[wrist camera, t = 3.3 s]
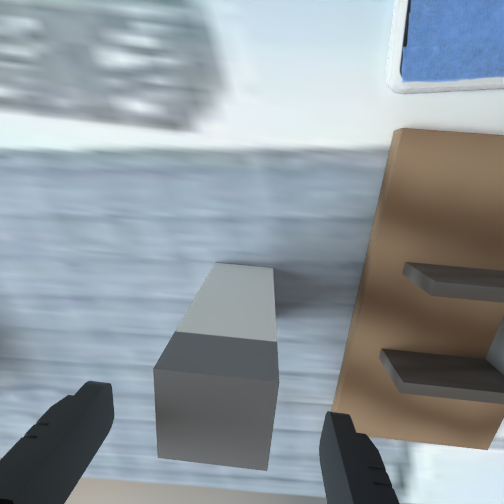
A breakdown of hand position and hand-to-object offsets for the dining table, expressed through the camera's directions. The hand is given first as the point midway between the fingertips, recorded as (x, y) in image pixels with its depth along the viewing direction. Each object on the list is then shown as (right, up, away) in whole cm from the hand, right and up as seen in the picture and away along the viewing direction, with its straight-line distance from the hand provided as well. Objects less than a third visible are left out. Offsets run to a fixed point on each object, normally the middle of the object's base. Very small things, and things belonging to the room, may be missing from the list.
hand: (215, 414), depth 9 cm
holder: (+15, +2, +8) cm, 17 cm away
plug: (+1, +3, +9) cm, 9 cm away
